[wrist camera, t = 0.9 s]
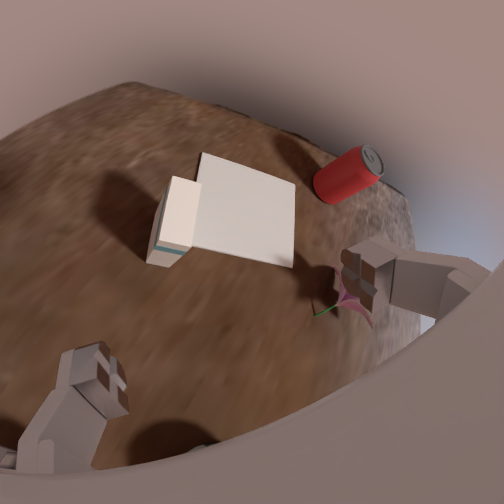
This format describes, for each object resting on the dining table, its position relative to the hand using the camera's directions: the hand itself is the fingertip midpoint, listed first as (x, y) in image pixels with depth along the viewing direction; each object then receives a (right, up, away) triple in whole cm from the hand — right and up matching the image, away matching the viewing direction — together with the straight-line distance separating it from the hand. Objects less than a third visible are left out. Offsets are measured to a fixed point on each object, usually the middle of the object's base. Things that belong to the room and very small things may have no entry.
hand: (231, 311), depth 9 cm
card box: (-10, +3, +25) cm, 28 cm away
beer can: (+14, +13, +41) cm, 45 cm away
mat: (0, +8, +32) cm, 33 cm away
